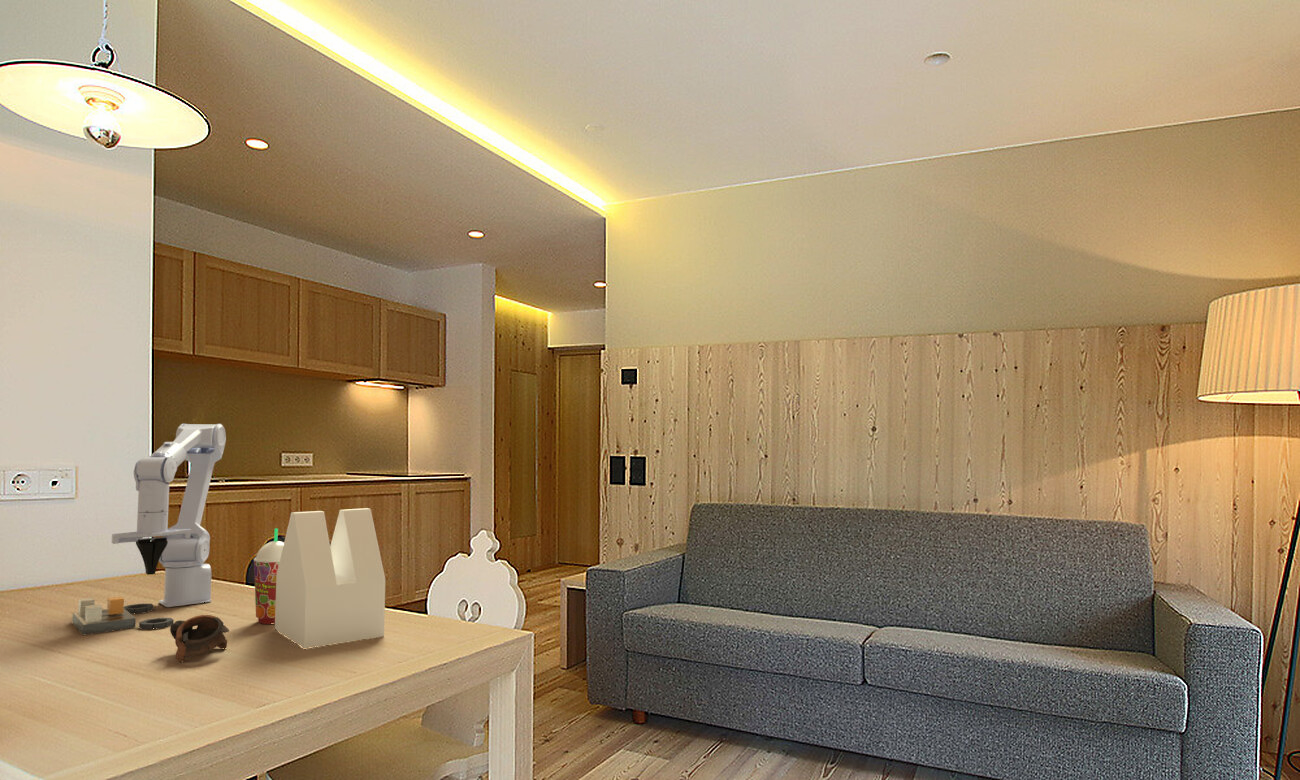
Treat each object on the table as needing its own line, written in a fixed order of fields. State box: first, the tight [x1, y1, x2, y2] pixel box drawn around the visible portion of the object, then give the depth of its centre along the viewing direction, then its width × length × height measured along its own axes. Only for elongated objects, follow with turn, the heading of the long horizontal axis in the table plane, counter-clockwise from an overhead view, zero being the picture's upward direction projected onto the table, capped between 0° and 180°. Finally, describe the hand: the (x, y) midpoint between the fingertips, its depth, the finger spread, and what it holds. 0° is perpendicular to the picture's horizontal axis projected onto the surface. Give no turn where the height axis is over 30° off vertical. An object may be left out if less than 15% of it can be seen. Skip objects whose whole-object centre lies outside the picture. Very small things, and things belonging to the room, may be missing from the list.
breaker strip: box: [72, 597, 137, 636], centre depth 165 cm, size 9×14×5 cm, turn 43°
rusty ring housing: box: [169, 614, 230, 662], centre depth 143 cm, size 12×10×8 cm
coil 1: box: [124, 603, 154, 615], centre depth 178 cm, size 6×6×1 cm
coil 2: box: [138, 617, 174, 630], centre depth 164 cm, size 6×6×1 cm
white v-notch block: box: [274, 507, 386, 648], centre depth 160 cm, size 19×15×25 cm
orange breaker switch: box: [106, 596, 125, 615], centre depth 167 cm, size 2×3×3 cm
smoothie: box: [253, 528, 284, 625], centre depth 170 cm, size 8×8×20 cm
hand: (150, 573), depth 171 cm, fingers closed
